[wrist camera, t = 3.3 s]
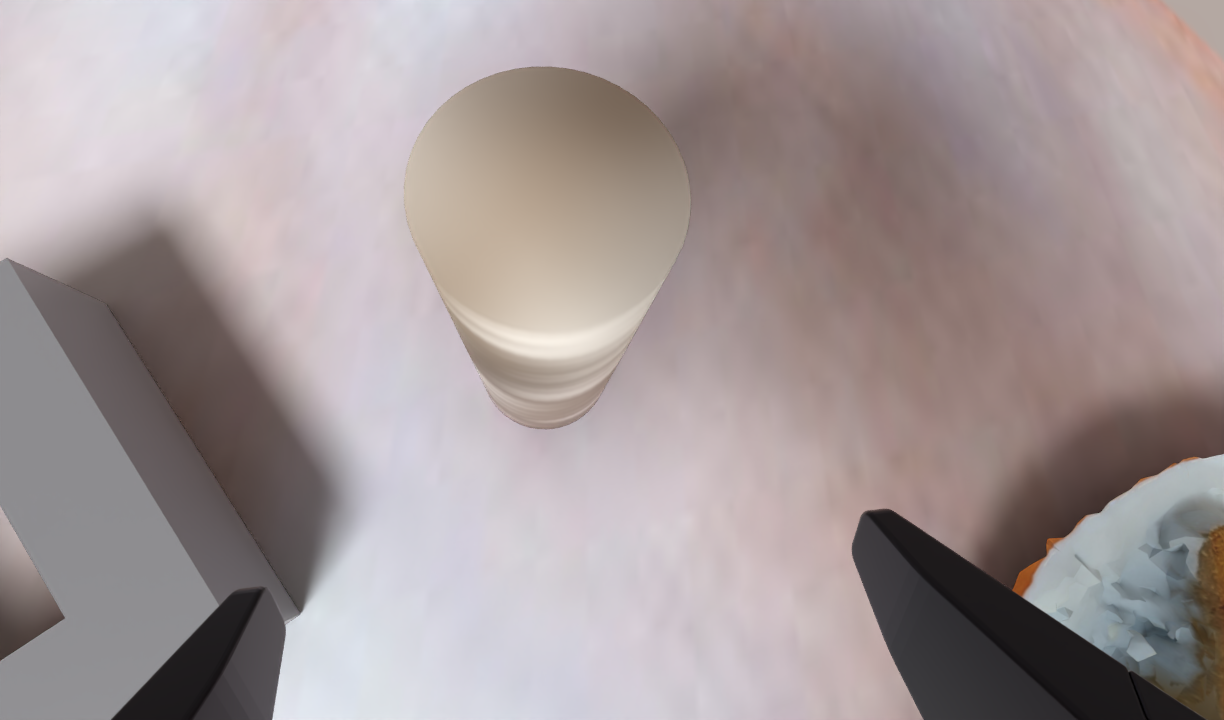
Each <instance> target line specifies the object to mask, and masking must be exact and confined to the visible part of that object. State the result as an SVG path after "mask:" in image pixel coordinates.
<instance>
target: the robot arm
mask: <svg viewBox="0 0 1224 720" xmlns="http://www.w3.org/2000/svg"><path fill="white" fill-rule="evenodd" d="M852 555H853V559H854V562H855V565H856V568H857V570H858V573H859V575H860V578H861V581H862V583H863V586H864V588H865V591H866V593H867V596H868V599H869V601H870V604H871V606H872V609H873V612H874V614H875V617H876V619H877V622H878V625H879V627H880V630H881V632H882V635H883V637H884V640H885V642H886V644H887V647H888V649H889V651H890V654H891V656H892V658H893V660H894V662H895V664H896V666H897V668H898V670H899V672H900V674H901V676H902V678H903V680H904V682H905V684H906V686H907V688H908V690H909V692H910V694H911V696H912V698H913V700H914V702H915V704H916V706H917V708H918V709H919V711H920V713H921V715H922V717H923V719H924V720H1207V719H1205V718H1204V717H1202V716H1201V715H1199V714H1198V713H1196V712H1194V711H1193V710H1191V709H1190V708H1188V707H1187V706H1185V705H1184V704H1182V703H1181V702H1179V701H1178V700H1176V699H1174V698H1173V697H1171V696H1170V695H1168V694H1167V693H1165V692H1164V691H1162V690H1161V689H1159V688H1158V687H1156V686H1155V685H1153V684H1152V683H1150V682H1149V681H1147V680H1146V679H1144V678H1143V677H1141V676H1140V675H1138V674H1137V673H1135V672H1134V671H1128V670H1127V668H1126V666H1124V665H1123V664H1121V663H1120V662H1118V661H1117V660H1115V659H1114V658H1112V657H1111V656H1109V655H1108V654H1106V653H1105V652H1103V651H1102V650H1100V649H1099V648H1097V647H1096V646H1095V645H1093V644H1092V643H1090V642H1089V641H1087V640H1086V639H1084V638H1083V637H1081V636H1080V635H1078V634H1077V633H1075V632H1074V631H1072V630H1071V629H1069V628H1068V627H1066V626H1065V625H1063V624H1062V623H1060V622H1059V621H1057V620H1056V619H1054V618H1053V617H1051V616H1050V615H1048V614H1047V613H1045V612H1044V611H1042V610H1041V609H1039V608H1038V607H1036V606H1035V605H1033V604H1032V603H1030V602H1029V601H1027V600H1026V599H1024V598H1023V597H1021V596H1020V595H1018V594H1017V593H1015V592H1014V591H1012V590H1011V589H1009V588H1008V587H1006V586H1005V585H1003V584H1002V583H1000V582H999V581H997V580H996V579H994V578H993V577H991V576H990V575H988V574H987V573H985V572H984V571H982V570H981V569H979V568H978V567H976V566H975V565H973V564H972V563H970V562H969V561H967V560H966V559H964V558H963V557H961V556H960V555H958V554H957V553H955V552H954V551H952V550H951V549H950V548H948V547H947V546H945V545H944V544H942V543H941V542H939V541H938V540H936V539H935V538H933V537H932V536H930V535H929V534H927V533H926V532H924V531H923V530H921V529H920V528H918V527H917V526H915V525H914V524H912V523H911V522H909V521H908V520H906V519H905V518H903V517H902V516H900V515H899V514H897V513H896V512H894V511H892V510H890V509H877V510H869V511H865V512H864V513H863V514H862V515H861V518H860V521H859V524H858V527H857V531H856V534H855V537H854V540H853V543H852ZM285 635H286V628H285V621H284V618H283V616H282V614H281V612H280V610H279V607H278V605H277V603H276V601H275V599H274V597H273V595H272V592H271V591H270V589H269V588H267V587H266V586H257V587H249V588H241V589H237V590H235V591H234V592H232V593H231V594H230V595H229V596H228V597H227V598H226V599H225V600H224V601H223V602H222V603H221V604H220V605H219V606H218V607H217V608H216V609H215V610H214V611H213V613H212V614H211V615H210V616H209V617H208V618H207V619H206V620H205V621H204V622H203V623H202V624H201V625H200V626H199V627H198V628H197V629H196V630H195V631H194V632H193V634H192V635H191V636H190V637H189V638H188V639H187V640H186V641H185V642H184V643H183V644H182V645H181V646H180V647H179V648H178V649H177V650H176V651H175V652H174V654H173V655H172V656H171V657H170V658H169V659H168V660H167V661H166V662H165V663H164V664H163V665H162V666H161V667H160V668H159V669H158V670H157V671H156V672H155V673H154V675H153V676H152V677H151V678H150V679H149V680H148V681H147V682H146V683H145V684H144V685H143V686H142V687H141V688H140V689H139V690H138V691H137V692H136V693H135V695H134V696H133V697H132V698H131V699H130V700H129V701H128V702H127V703H126V704H125V705H124V706H123V707H122V708H121V709H120V710H119V711H118V712H117V713H116V714H115V716H114V717H113V718H112V719H111V720H272V718H273V711H274V705H275V699H276V693H277V686H278V680H279V674H280V667H281V661H282V655H283V649H284V642H285Z"/></svg>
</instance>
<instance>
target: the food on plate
mask: <svg viewBox="0 0 1224 720" xmlns="http://www.w3.org/2000/svg"><path fill="white" fill-rule="evenodd" d="M1046 550H1047V556H1046V557H1044V558H1042V559H1040V560H1039V561H1037V562H1035V563H1033V564H1031V565H1030V566H1028V567H1027V568H1025V569H1024V570H1022V571H1021V572H1019V575H1018V578H1017V580H1016V583H1015V585H1014V588H1013V589H1012V591H1014V592H1015V593H1017V594H1018V595H1020V596H1021V597H1023V598H1024V599H1026V600H1027V601H1029V602H1030V603H1032V604H1033V605H1035V606H1036V607H1038V608H1039V609H1041V610H1042V611H1044V612H1045V613H1047V614H1048V615H1050V616H1051V617H1053V618H1054V619H1056V620H1057V621H1059V622H1060V623H1062V624H1063V625H1065V626H1066V627H1068V628H1069V629H1071V630H1072V631H1074V632H1075V633H1077V634H1078V635H1080V636H1081V637H1083V638H1084V639H1086V640H1087V641H1089V642H1090V643H1092V644H1093V645H1095V646H1096V647H1097V648H1099V649H1100V650H1102V651H1103V652H1105V653H1106V654H1108V655H1109V656H1111V657H1112V658H1114V659H1115V660H1117V661H1118V662H1120V663H1121V664H1123V665H1124V666H1126V668H1127V670H1128V671H1134V672H1135V673H1137V674H1138V675H1140V676H1141V677H1143V678H1144V679H1146V680H1147V681H1149V682H1150V683H1152V684H1153V685H1155V686H1156V687H1158V688H1159V689H1161V690H1162V691H1164V692H1165V693H1167V694H1168V695H1170V696H1171V697H1173V698H1174V699H1176V700H1178V701H1179V702H1181V703H1182V704H1184V705H1185V706H1187V707H1188V708H1190V709H1191V710H1193V711H1194V712H1196V713H1198V714H1199V715H1201V716H1202V717H1204V718H1205V719H1207V720H1224V454H1222V455H1217V456H1213V457H1208V458H1204V459H1202V458H1199V457H1191V458H1187V459H1183V460H1182V461H1181V462H1180V463H1179V464H1177V463H1173V464H1172V465H1170V466H1169V467H1168V468H1166V469H1165V470H1163V471H1162V472H1161V473H1159V474H1158V475H1154V476H1150V477H1145V478H1141V479H1140V480H1139V481H1138V482H1137V483H1136V484H1135V485H1134V486H1133V487H1132V488H1131V489H1130V490H1129V491H1127V492H1125V493H1123V494H1121V495H1119V496H1117V497H1116V498H1114V499H1113V500H1111V501H1110V502H1109V503H1108V504H1107V505H1106V506H1105V508H1104V509H1103V510H1102V511H1101V513H1096V514H1090V515H1086V516H1084V517H1083V518H1082V519H1081V520H1080V521H1079V522H1078V523H1077V524H1076V526H1075V527H1074V529H1073V530H1072V532H1071V533H1070V534H1068V535H1067V536H1066V537H1064V538H1048V539H1047V543H1046Z"/></svg>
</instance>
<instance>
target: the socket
mask: <svg viewBox="0 0 1224 720" xmlns="http://www.w3.org/2000/svg"><path fill="white" fill-rule="evenodd" d="M0 506H1V508H2V510H3V511H4V513H5V515H6V516H7V518H8V520H9V522H10V523H11V525H12V527H13V529H14V530H15V532H16V534H17V536H18V537H19V539H20V541H21V543H22V544H23V546H24V548H25V549H26V551H27V553H28V555H29V556H30V558H31V560H32V562H33V563H34V565H35V567H36V569H37V570H38V572H39V574H40V576H41V577H42V579H43V581H44V582H45V584H46V586H47V588H48V589H49V591H50V593H51V595H52V596H53V598H54V600H55V602H56V603H57V605H58V607H59V609H60V610H61V612H62V614H63V616H64V617H65V619H63V620H62V621H60V622H59V623H57V624H56V625H54V626H53V627H51V628H50V629H48V630H46V631H45V632H43V633H42V634H40V635H39V636H37V637H36V638H34V639H33V640H31V641H30V642H28V643H27V644H25V645H24V646H22V647H20V648H19V649H17V650H16V651H14V652H13V653H11V654H10V655H8V656H7V657H5V658H4V659H2V660H1V661H0V720H111V719H112V718H113V717H114V716H115V714H116V713H117V712H118V711H119V710H120V709H121V708H122V707H123V706H124V705H125V704H126V703H127V702H128V701H129V700H130V699H131V698H132V697H133V696H134V695H135V693H136V692H137V691H138V690H139V689H140V688H141V687H142V686H143V685H144V684H145V683H146V682H147V681H148V680H149V679H150V678H151V677H152V676H153V675H154V673H155V672H156V671H157V670H158V669H159V668H160V667H161V666H162V665H163V664H164V663H165V662H166V661H167V660H168V659H169V658H170V657H171V656H172V655H173V654H174V652H175V651H176V650H177V649H178V648H179V647H180V646H181V645H182V644H183V643H184V642H185V641H186V640H187V639H188V638H189V637H190V636H191V635H192V634H193V632H194V631H195V630H196V629H197V628H198V627H199V626H200V625H201V624H202V623H203V622H204V621H205V620H206V619H207V618H208V617H209V616H210V615H211V614H212V613H213V611H214V610H215V609H216V608H217V607H218V606H219V605H220V604H221V603H222V602H223V601H224V600H225V599H226V598H227V597H228V596H229V595H230V594H231V593H232V592H234V591H235V590H237V589H241V588H249V587H257V586H266V587H267V588H269V589H270V591H271V592H272V595H273V597H274V599H275V601H276V603H277V605H278V607H279V610H280V612H281V614H282V616H283V618H284V621H285V625H286V624H287V623H289V622H290V621H292V620H293V619H294V618H296V617H297V616H299V615H300V612H299V610H298V609H297V607H296V606H295V604H294V602H293V601H292V599H291V598H290V596H289V594H288V593H287V591H286V590H285V588H284V587H283V585H282V583H281V582H280V580H279V579H278V577H277V575H276V574H275V572H274V571H273V569H272V567H271V566H270V564H269V563H268V561H267V559H266V558H265V556H264V555H263V553H262V551H261V550H260V548H259V547H258V545H257V543H256V542H255V540H254V539H253V537H252V536H251V534H250V532H249V531H248V529H247V528H246V526H245V524H244V523H243V521H242V520H241V518H240V516H239V515H238V513H237V512H236V510H235V508H234V507H233V505H232V504H231V502H230V500H229V499H228V497H227V496H226V494H225V493H224V491H223V489H222V488H221V486H220V485H219V483H218V481H217V480H216V478H215V477H214V475H213V473H212V472H211V470H210V469H209V467H208V465H207V464H206V462H205V461H204V459H203V457H202V456H201V454H200V453H199V451H198V449H197V448H196V446H195V445H194V443H193V442H192V440H191V438H190V437H189V435H188V434H187V432H186V430H185V429H184V427H183V426H182V424H181V422H180V421H179V419H178V418H177V416H176V414H175V413H174V411H173V410H172V408H171V406H170V405H169V403H168V402H167V400H166V398H165V397H164V395H163V394H162V392H161V391H160V389H159V387H158V386H157V384H156V383H155V381H154V379H153V378H152V376H151V375H150V373H149V371H148V370H147V368H146V367H145V365H144V363H143V362H142V360H141V359H140V357H139V355H138V354H137V352H136V351H135V349H134V348H133V346H132V344H131V343H130V341H129V340H128V338H127V336H126V335H125V333H124V332H123V330H122V328H121V327H120V325H119V324H118V322H117V320H116V319H115V317H114V316H113V314H112V312H111V311H110V309H109V308H108V306H107V304H106V303H104V302H102V301H100V300H98V299H95V298H93V297H91V296H89V295H87V294H84V293H82V292H80V291H78V290H76V289H73V288H71V287H69V286H67V285H65V284H62V283H60V282H58V281H56V280H54V279H52V278H49V277H47V276H45V275H43V274H41V273H38V272H36V271H34V270H32V269H30V268H27V267H25V266H23V265H21V264H19V263H16V262H14V261H12V260H10V259H8V258H6V259H4V260H2V261H0Z"/></svg>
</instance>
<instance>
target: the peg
mask: <svg viewBox="0 0 1224 720" xmlns="http://www.w3.org/2000/svg"><path fill="white" fill-rule="evenodd" d="M404 205H405V211H406V217H407V222H408V225H409V229H410V232H411V235H412V238H413V240H414V242H415V244H416V246H417V248H418V250H419V253H420V255H421V257H422V259H423V261H424V263H425V265H426V267H427V269H428V271H429V273H430V275H431V277H432V279H433V281H434V283H435V285H436V287H437V290H438V292H439V294H440V296H441V298H442V300H443V302H444V304H445V306H446V308H447V310H448V312H449V314H450V316H451V318H452V320H453V322H454V324H455V326H456V329H457V331H458V333H459V335H460V337H461V339H462V341H463V343H464V345H465V347H466V349H467V351H468V353H469V355H470V357H471V359H472V361H473V363H474V365H475V368H476V370H477V372H478V374H479V376H480V378H481V380H482V382H483V384H484V386H485V388H486V390H487V392H488V394H489V396H490V398H491V400H492V401H493V403H494V404H495V406H496V407H497V408H498V409H499V410H500V411H501V412H502V413H503V414H504V415H505V416H507V417H508V418H510V419H511V420H513V421H514V422H516V423H519V424H521V425H524V426H527V427H530V428H536V429H554V428H559V427H563V426H566V425H568V424H571V423H573V422H575V421H577V420H578V419H580V418H581V417H583V416H584V415H585V414H586V413H587V412H588V411H589V410H590V409H591V408H592V407H593V406H594V405H595V403H596V402H597V400H598V398H599V397H600V395H601V393H602V391H603V390H604V388H605V386H606V384H607V383H608V381H609V379H610V377H611V375H612V374H613V372H614V370H615V368H616V366H617V365H618V363H619V361H620V359H621V358H622V356H623V354H624V352H625V350H626V349H627V347H628V345H629V343H630V341H631V340H632V338H633V336H634V334H635V333H636V331H637V329H638V327H639V325H640V324H641V322H642V320H643V318H644V316H645V315H646V313H647V311H648V309H649V308H650V306H651V304H652V302H653V300H654V299H655V297H656V295H657V293H658V291H659V290H660V288H661V286H662V284H663V283H664V281H665V279H666V277H667V275H668V274H669V272H670V270H671V268H672V266H673V265H674V263H675V261H676V259H677V257H678V255H679V253H680V251H681V248H682V246H683V244H684V240H685V237H686V234H687V231H688V226H689V220H690V213H691V193H690V185H689V178H688V174H687V171H686V167H685V163H684V161H683V158H682V156H681V153H680V151H679V149H678V147H677V145H676V143H675V141H674V140H673V138H672V136H671V134H670V133H669V131H668V130H667V129H666V127H665V126H664V125H663V123H662V122H661V121H660V119H659V118H658V117H657V116H656V115H655V114H654V113H653V112H652V111H651V110H650V109H649V108H648V107H647V106H646V105H644V104H643V103H642V102H641V101H640V100H638V99H637V98H636V97H635V96H633V95H632V94H630V93H629V92H627V91H625V90H624V89H622V88H621V87H619V86H617V85H615V84H613V83H611V82H609V81H607V80H605V79H602V78H600V77H597V76H594V75H591V74H588V73H585V72H581V71H576V70H572V69H566V68H557V67H527V68H519V69H513V70H509V71H504V72H500V73H497V74H494V75H491V76H489V77H486V78H483V79H481V80H479V81H477V82H475V83H473V84H471V85H469V86H467V87H465V88H464V89H462V90H461V91H459V92H458V93H457V94H455V95H454V96H452V97H451V98H450V99H449V100H448V101H446V102H445V103H444V104H443V105H442V106H441V107H440V108H439V109H438V110H437V111H436V112H435V113H434V115H433V116H432V117H431V118H430V119H429V120H428V122H427V123H426V125H425V126H424V128H423V129H422V131H421V133H420V134H419V136H418V138H417V140H416V142H415V144H414V147H413V149H412V151H411V154H410V157H409V161H408V164H407V168H406V174H405V182H404Z"/></svg>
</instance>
